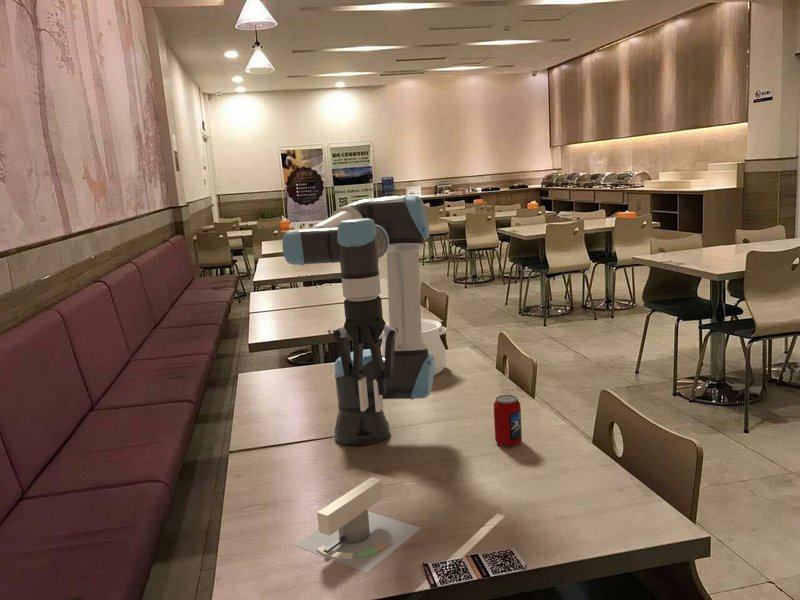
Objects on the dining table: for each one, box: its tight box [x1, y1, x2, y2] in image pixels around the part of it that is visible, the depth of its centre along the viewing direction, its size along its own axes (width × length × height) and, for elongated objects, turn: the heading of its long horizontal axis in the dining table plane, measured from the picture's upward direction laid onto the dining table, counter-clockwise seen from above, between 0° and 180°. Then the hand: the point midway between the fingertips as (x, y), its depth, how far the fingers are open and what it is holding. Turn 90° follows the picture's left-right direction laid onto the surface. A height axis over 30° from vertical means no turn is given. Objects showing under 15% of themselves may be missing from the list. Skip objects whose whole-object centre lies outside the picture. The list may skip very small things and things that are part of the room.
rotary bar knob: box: [316, 476, 384, 553], centre depth 126 cm, size 6×16×8 cm, turn 144°
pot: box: [379, 318, 447, 376], centre depth 233 cm, size 26×24×17 cm
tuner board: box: [293, 510, 422, 574], centre depth 127 cm, size 18×17×2 cm
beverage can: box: [493, 394, 523, 448], centre depth 166 cm, size 7×7×12 cm
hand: (372, 409), depth 135 cm, fingers open, 3 cm apart
